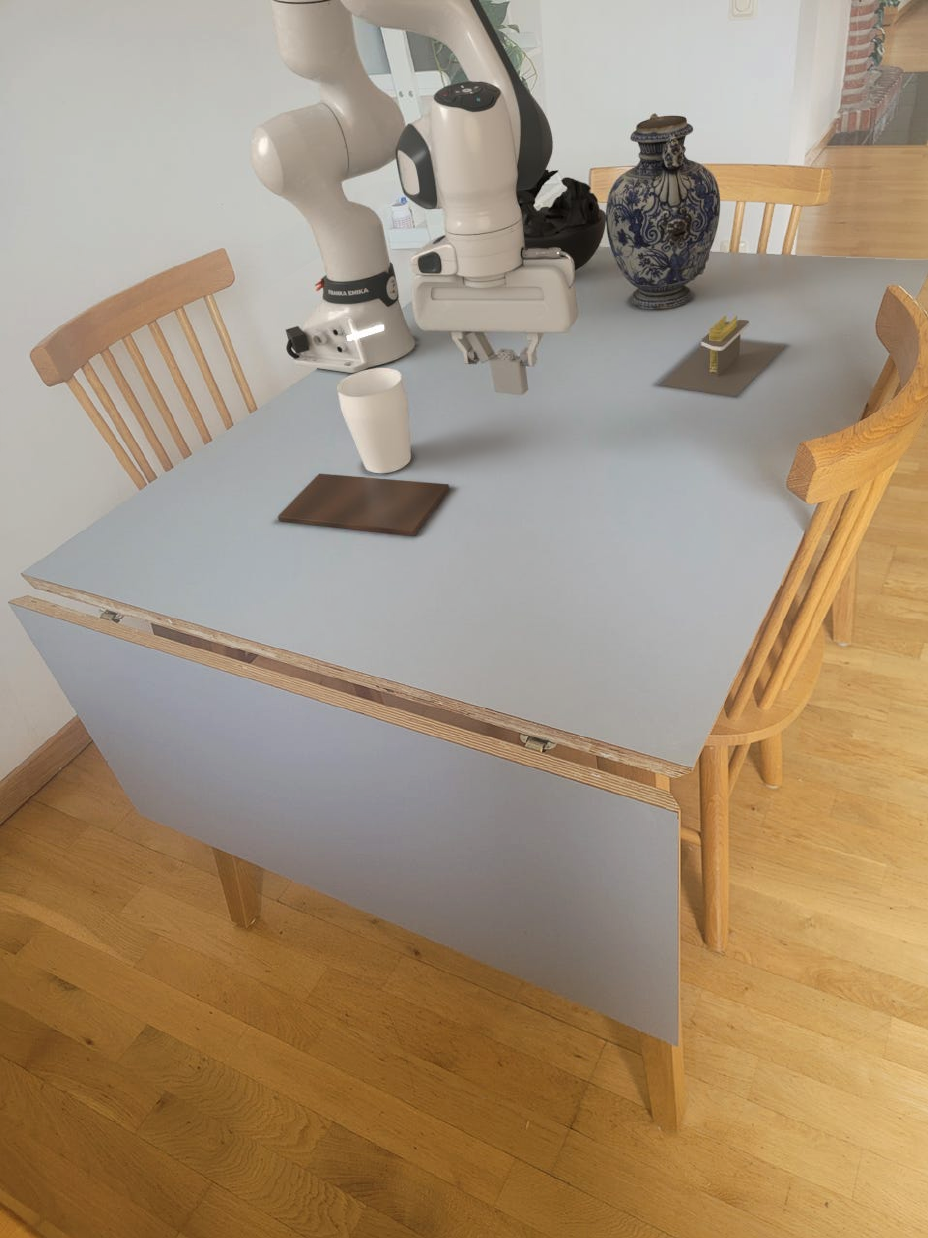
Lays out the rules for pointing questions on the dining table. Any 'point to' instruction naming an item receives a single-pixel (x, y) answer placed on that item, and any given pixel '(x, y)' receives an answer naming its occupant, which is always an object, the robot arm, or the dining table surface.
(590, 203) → the coal bowl
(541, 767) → the dining table surface
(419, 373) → the dining table surface
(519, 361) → the lighter
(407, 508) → the walnut board
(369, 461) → the cup
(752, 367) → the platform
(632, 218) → the decorative vase
